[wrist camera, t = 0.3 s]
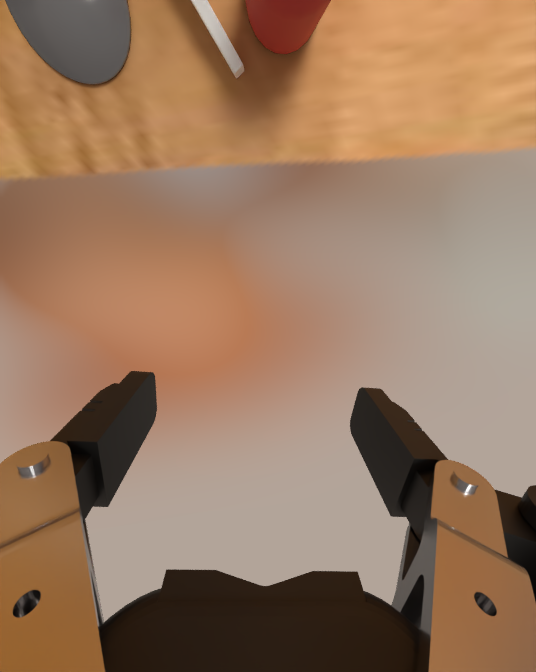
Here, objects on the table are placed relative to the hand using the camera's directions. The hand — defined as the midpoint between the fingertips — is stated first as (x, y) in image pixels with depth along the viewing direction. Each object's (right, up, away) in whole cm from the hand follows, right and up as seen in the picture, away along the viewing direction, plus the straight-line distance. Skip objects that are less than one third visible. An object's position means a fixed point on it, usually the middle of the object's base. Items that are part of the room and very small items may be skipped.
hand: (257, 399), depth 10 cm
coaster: (-17, +31, +12) cm, 37 cm away
